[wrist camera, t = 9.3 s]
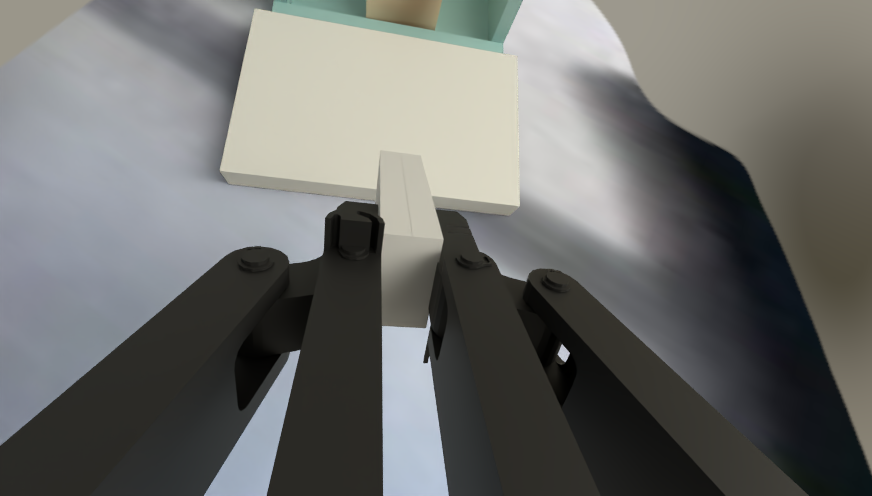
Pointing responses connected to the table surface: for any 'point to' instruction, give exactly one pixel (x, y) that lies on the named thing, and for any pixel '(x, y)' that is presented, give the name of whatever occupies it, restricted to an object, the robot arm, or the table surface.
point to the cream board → (372, 113)
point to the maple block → (405, 12)
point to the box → (457, 24)
